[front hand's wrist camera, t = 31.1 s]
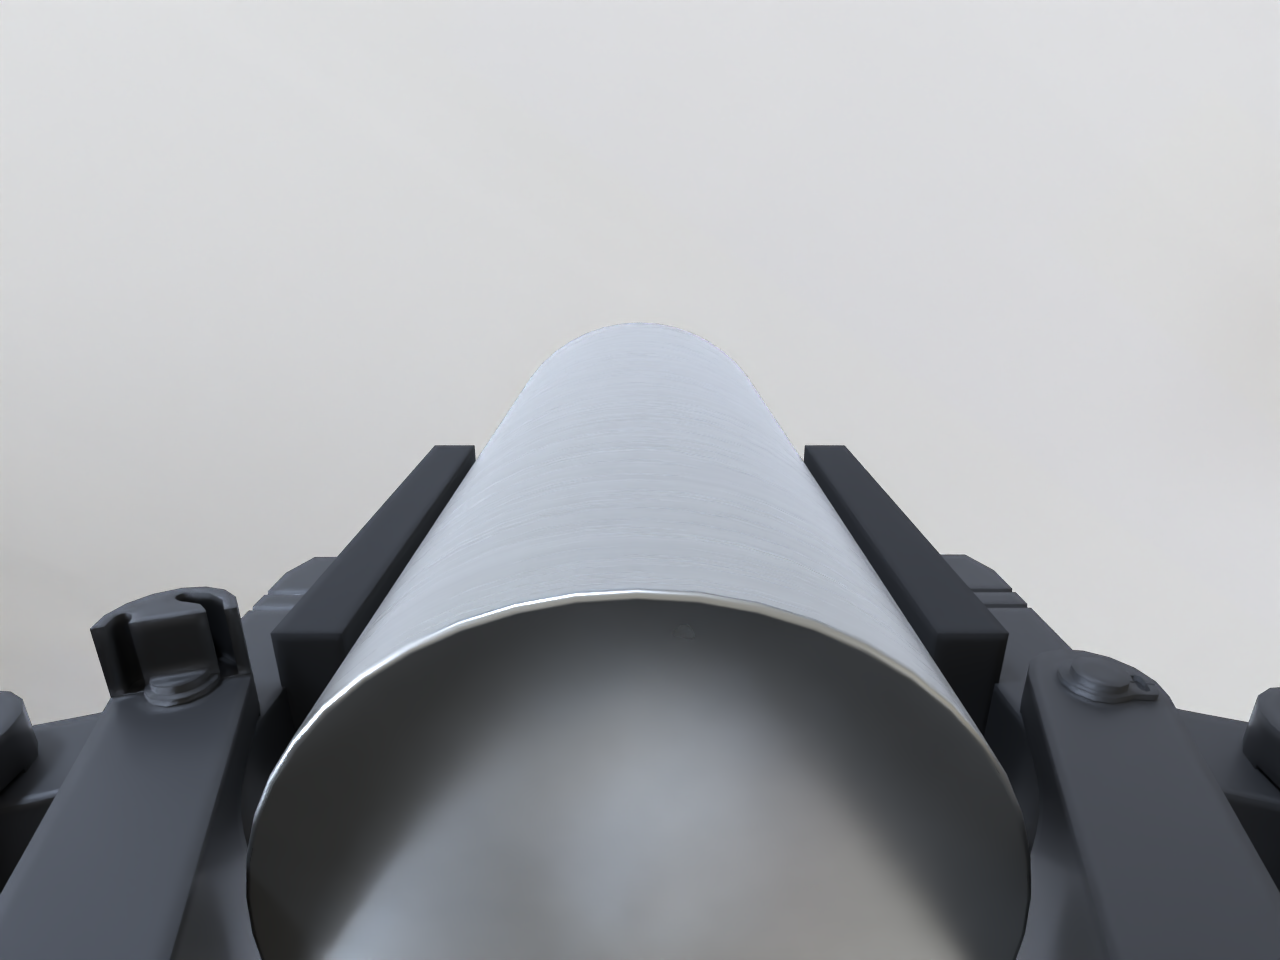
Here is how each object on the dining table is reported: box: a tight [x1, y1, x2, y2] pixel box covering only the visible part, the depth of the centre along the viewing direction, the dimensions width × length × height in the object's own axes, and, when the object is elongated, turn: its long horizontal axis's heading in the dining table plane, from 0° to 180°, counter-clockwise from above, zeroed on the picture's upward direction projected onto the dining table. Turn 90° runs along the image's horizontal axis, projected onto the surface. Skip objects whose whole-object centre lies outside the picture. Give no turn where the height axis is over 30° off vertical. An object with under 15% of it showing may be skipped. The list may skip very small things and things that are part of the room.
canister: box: [246, 323, 1031, 960], centre depth 12 cm, size 6×6×12 cm
